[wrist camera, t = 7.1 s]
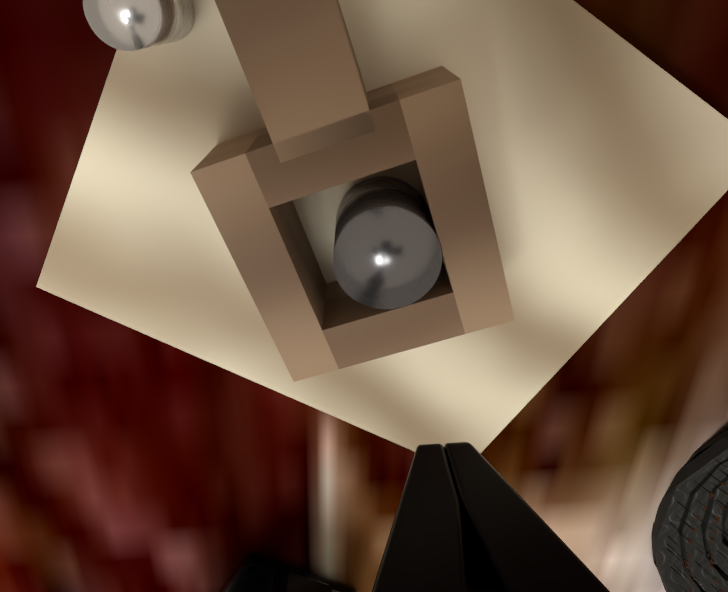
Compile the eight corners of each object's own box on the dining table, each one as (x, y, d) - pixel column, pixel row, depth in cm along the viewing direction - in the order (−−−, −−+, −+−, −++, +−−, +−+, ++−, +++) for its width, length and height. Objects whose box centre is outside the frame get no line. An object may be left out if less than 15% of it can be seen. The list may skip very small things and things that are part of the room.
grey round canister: (393, 262, 19) (404, 325, 16) (321, 223, 19) (313, 279, 15) (441, 194, 18) (463, 243, 14) (365, 149, 17) (368, 189, 14)
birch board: (457, 451, 24) (462, 472, 23) (53, 271, 19) (36, 286, 18) (741, 140, 17) (766, 149, 16) (235, -246, 13) (225, -269, 12)
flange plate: (491, 274, 18) (517, 325, 15) (301, 330, 19) (292, 388, 16) (371, -230, 12) (378, -303, 9) (99, -111, 13) (28, -143, 10)
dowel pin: (182, 54, 15) (144, 65, 12) (126, 21, 14) (73, 25, 12) (204, -3, 14) (169, -4, 11) (146, -39, 14) (95, -49, 11)
